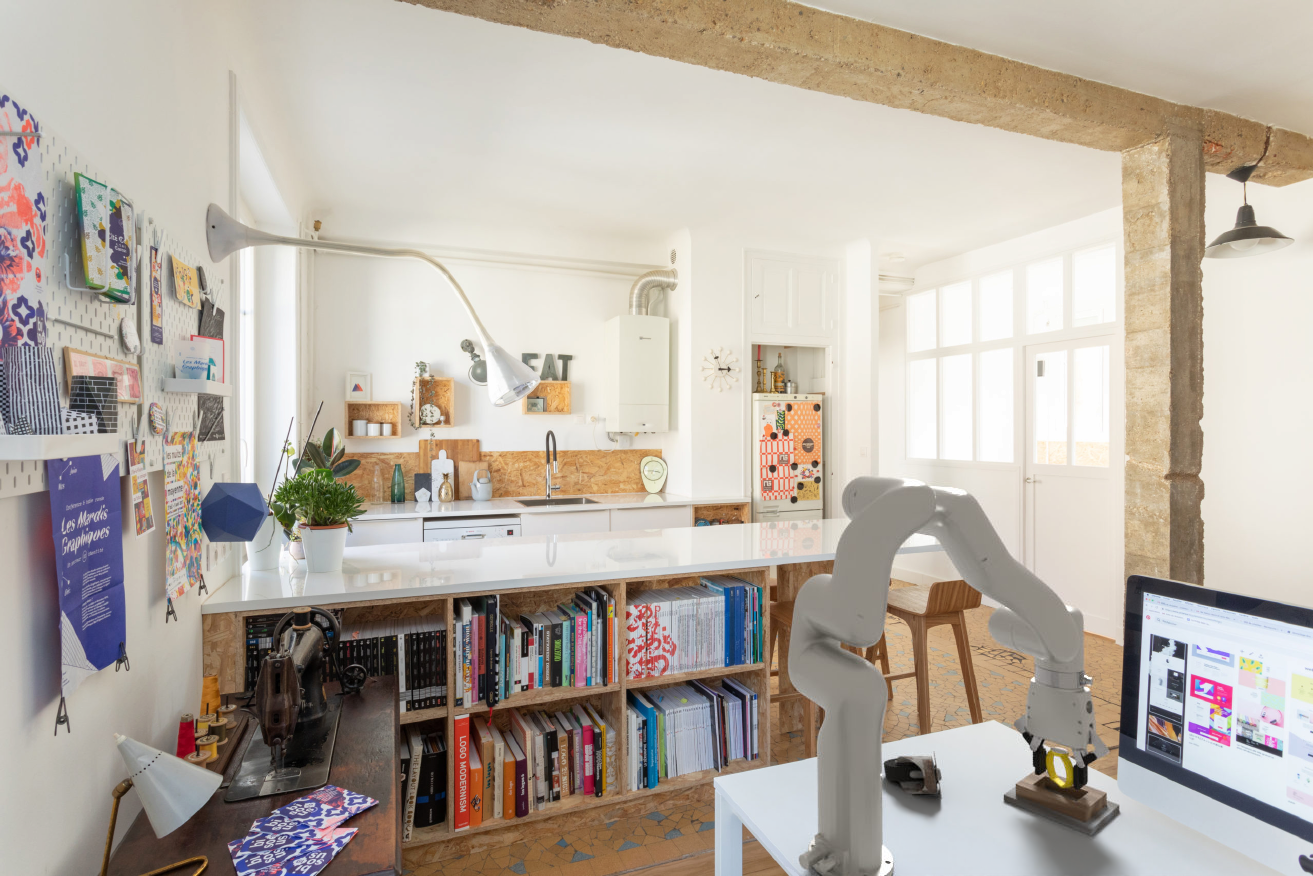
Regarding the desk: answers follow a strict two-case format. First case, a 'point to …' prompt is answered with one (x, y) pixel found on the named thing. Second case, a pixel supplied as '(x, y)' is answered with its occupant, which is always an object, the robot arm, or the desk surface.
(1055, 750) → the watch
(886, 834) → the desk surface
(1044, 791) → the frame
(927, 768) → the caster wheel
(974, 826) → the desk surface
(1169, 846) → the desk surface
